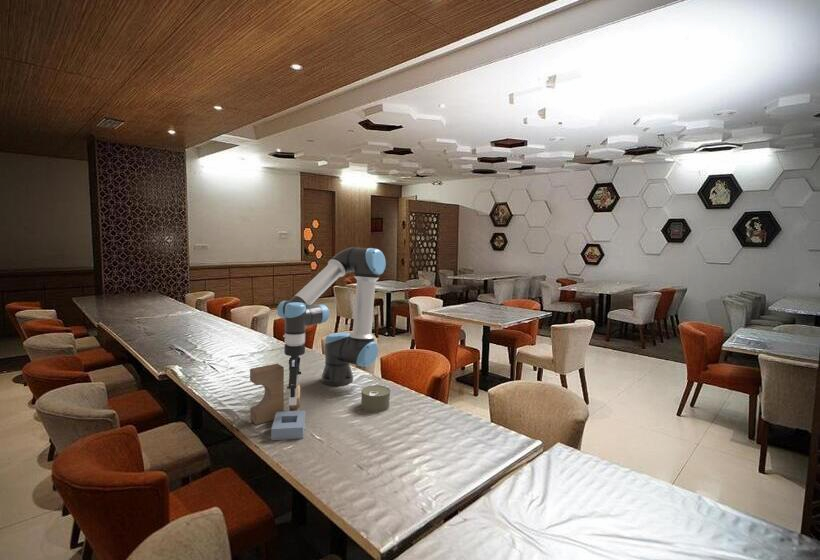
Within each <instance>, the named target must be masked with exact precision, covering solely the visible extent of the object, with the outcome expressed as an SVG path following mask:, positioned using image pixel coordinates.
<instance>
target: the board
mask: <svg viewBox="0 0 820 560" xmlns="http://www.w3.org/2000/svg"><path fill="white" fill-rule="evenodd" d="M272 421H273V423H272V425H271V428H270V430H271V431H270V432H271V433H270V434H271V435H270V436H271V437H270V439H271V441H282V440H283V441H285V440H300V439H301V440H302V439H304V434H305V425H306V410H304V409H303V410H300V411H290V410H286V411H285V410H284V411H280V412H276V415H275V418H274V420H272Z"/></svg>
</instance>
